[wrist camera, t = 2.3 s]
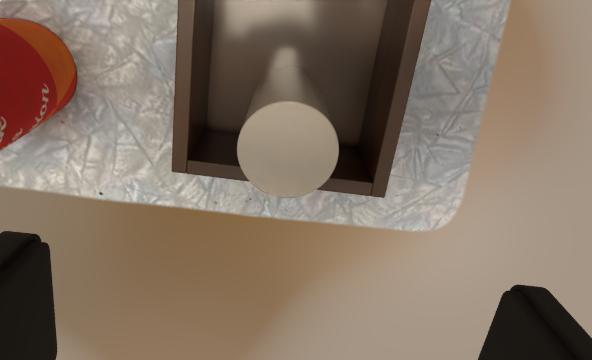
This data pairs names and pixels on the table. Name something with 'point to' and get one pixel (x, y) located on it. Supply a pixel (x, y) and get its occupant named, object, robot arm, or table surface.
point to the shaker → (287, 135)
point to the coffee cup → (31, 77)
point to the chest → (305, 55)
